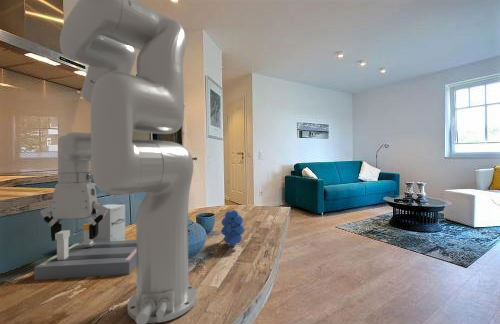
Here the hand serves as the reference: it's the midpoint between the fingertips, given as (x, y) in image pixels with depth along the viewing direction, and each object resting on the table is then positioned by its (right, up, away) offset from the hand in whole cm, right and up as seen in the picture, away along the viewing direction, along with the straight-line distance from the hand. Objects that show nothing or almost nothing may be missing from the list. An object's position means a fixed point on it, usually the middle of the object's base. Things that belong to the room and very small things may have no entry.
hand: (75, 238), depth 69 cm
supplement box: (+2, -6, +12) cm, 14 cm away
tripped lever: (+3, -2, 0) cm, 4 cm away
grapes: (+45, -6, +10) cm, 46 cm away
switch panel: (+9, -6, -3) cm, 11 cm away
